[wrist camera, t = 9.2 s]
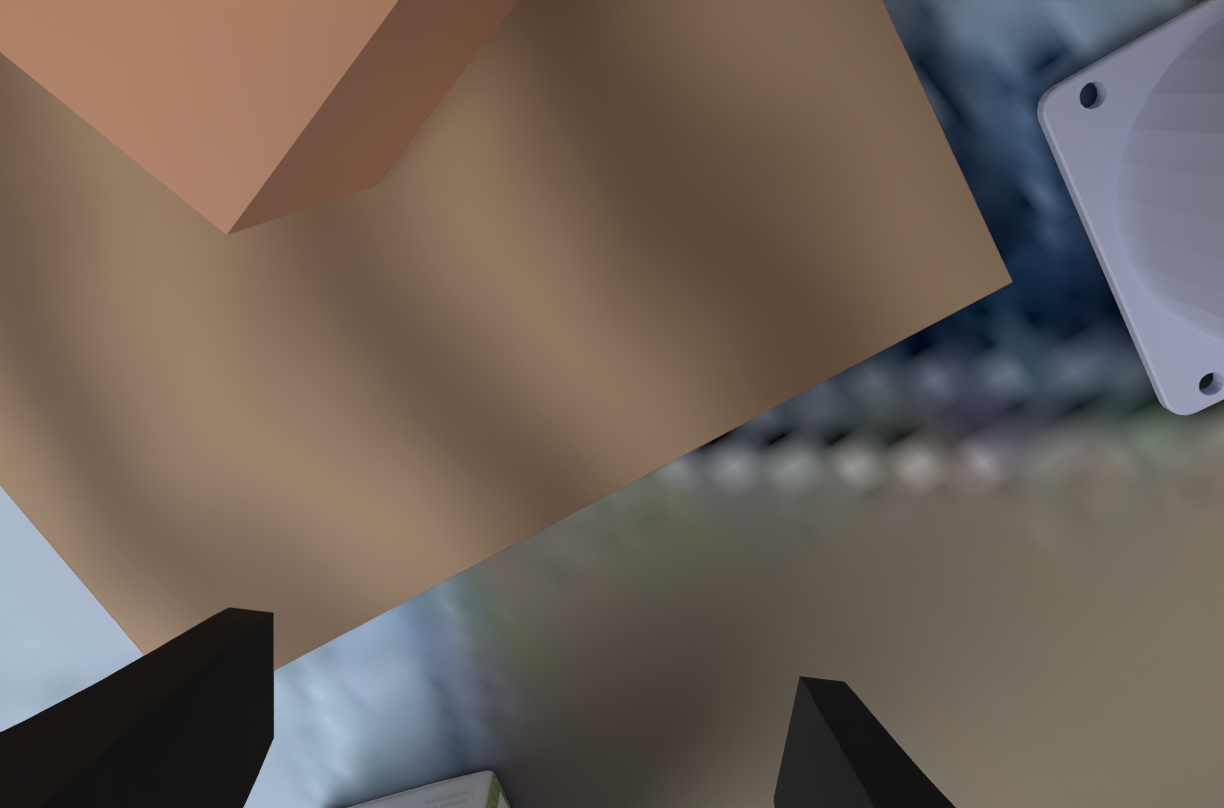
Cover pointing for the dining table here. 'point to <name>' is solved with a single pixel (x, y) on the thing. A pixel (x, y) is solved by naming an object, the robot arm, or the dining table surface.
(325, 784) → the dining table surface
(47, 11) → the tea tin
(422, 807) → the syrup box
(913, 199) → the brown wooden pallet
